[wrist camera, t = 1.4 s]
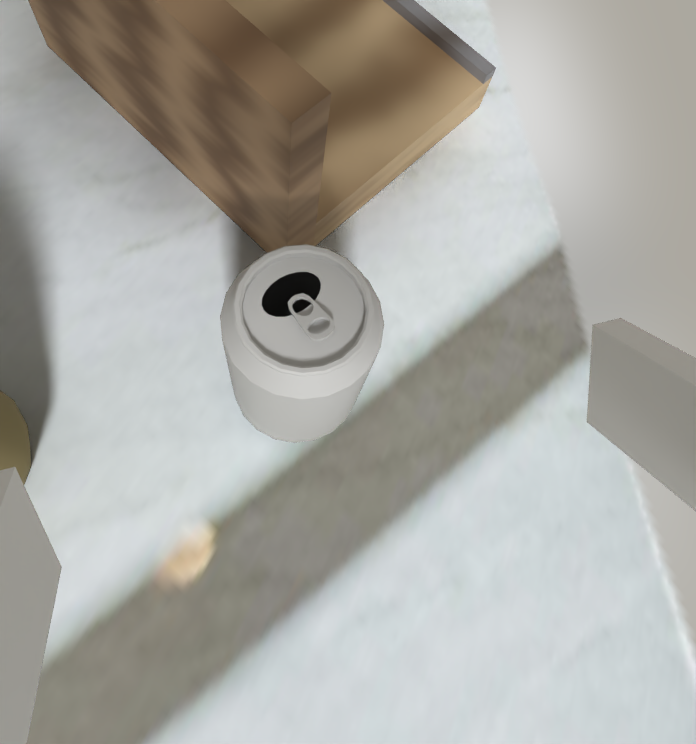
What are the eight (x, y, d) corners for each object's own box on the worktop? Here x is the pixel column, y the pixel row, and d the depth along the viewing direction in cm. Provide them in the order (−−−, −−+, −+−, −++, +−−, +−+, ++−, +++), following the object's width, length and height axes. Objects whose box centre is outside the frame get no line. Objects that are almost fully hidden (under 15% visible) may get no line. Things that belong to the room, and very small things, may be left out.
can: (311, 308, 40) (326, 201, 29) (380, 401, 38) (424, 328, 27) (210, 369, 38) (182, 281, 27) (278, 470, 36) (280, 422, 25)
